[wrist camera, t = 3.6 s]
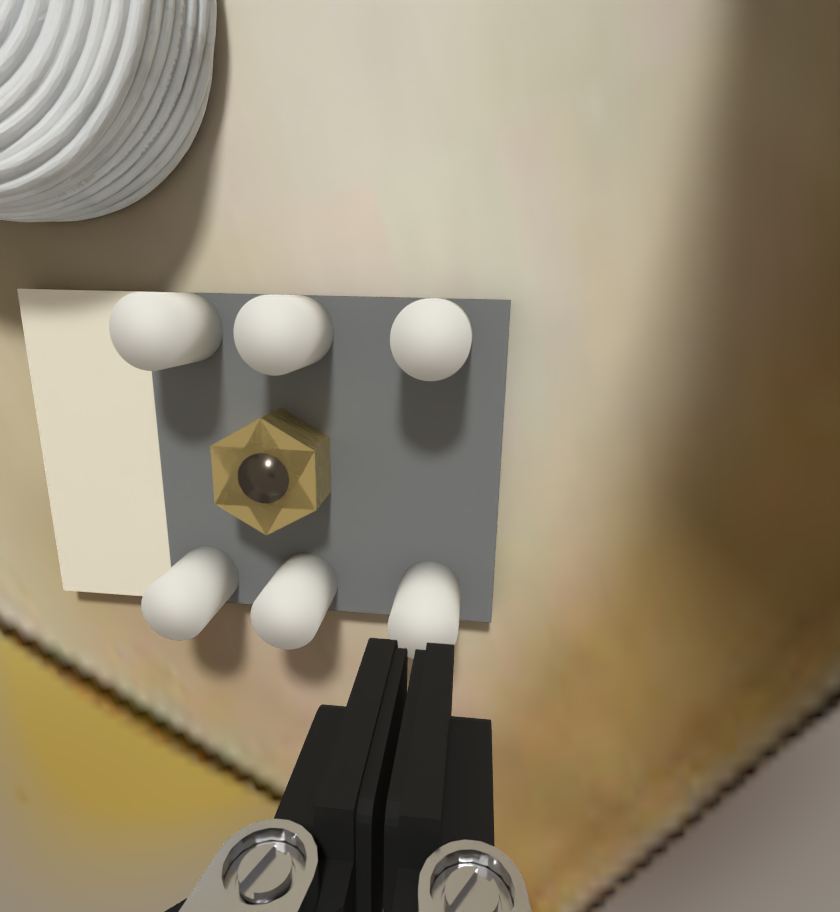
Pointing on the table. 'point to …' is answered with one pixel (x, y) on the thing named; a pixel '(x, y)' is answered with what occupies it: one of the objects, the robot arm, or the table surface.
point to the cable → (97, 101)
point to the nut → (272, 471)
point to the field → (248, 399)
